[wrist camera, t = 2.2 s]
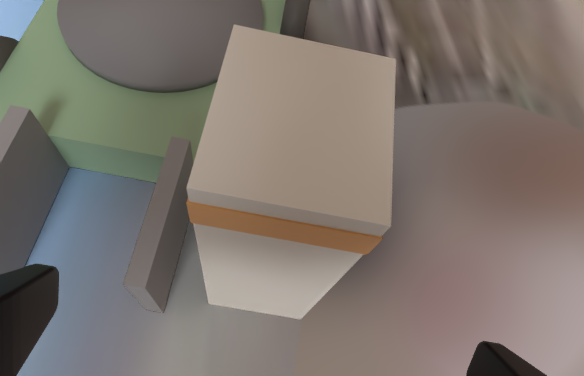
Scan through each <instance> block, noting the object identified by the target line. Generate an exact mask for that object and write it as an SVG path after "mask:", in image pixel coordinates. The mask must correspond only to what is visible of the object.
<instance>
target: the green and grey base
mask: <svg viewBox="0 0 584 376" xmlns="http://www.w3.org/2000/svg"><path fill="white" fill-rule="evenodd" d="M309 4H310V0H44V2H43V3H42V5H41V7H40V8H39V10H38V12H37V13H36V15H35V16H34V18H33V20H32V21H31V23H30V25H29V26H28V28H27V29H26V31H25V33H24V34H23V36H22V38H21V39H20V41H19V42H18V41H17V40H15V39H13V38H9V37H4V36H0V274H3V273H7V272H10V271H13V270H16V269H20V268H23V267H24V266H25V264H26V262H27V260H28V257H29V255H30V253H31V251H32V249H33V246H34V244H35V242H36V240H37V237H38V235H39V233H40V231H41V229H42V226H43V224H44V222H45V220H46V217H47V215H48V213H49V211H50V209H51V206H52V204H53V202H54V200H55V197H56V195H57V193H58V191H59V189H60V186H61V184H62V182H63V180H64V178H65V175H66V173H67V171H68V169H69V167H74V168H80V169H85V170H90V171H96V172H101V173H107V174H112V175H117V176H123V177H128V178H133V179H139V180H144V181H149V182H155V183H156V185H155V188H154V191H153V194H152V197H151V200H150V203H149V206H148V209H147V212H146V215H145V218H144V221H143V224H142V227H141V230H140V233H139V236H138V239H137V242H136V245H135V248H134V251H133V255H132V258H131V261H130V264H129V267H128V270H127V273H126V276H125V279H124V282H123V285H124V287H125V288H126V289H127V290H128V291H129V292H130V293H131V294H132V295H133V296H134V297H135V298H136V299H137V300H138V302H139V303H140V304H141V305H142V306H143V307H144V308H145V309H146V310H150V311H156V312H162V313H164V309H165V306H166V302H167V298H168V295H169V291H170V287H171V284H172V280H173V277H174V273H175V269H176V266H177V262H178V258H179V255H180V251H181V248H182V244H183V240H184V237H185V233H186V229H187V226H188V222H189V214H188V209H187V204H186V202H187V199H188V194H187V189H186V187H187V184H188V181H189V177H190V174H191V170H192V167H193V163H194V160H195V157H196V153H197V150H198V146H199V143H200V139H201V136H202V132H203V129H204V126H205V122H206V119H207V115H208V112H209V108H210V105H211V101H212V98H213V95H214V91H215V88H216V84H217V81H218V77H219V74H220V71H221V67H222V64H223V60H224V57H225V53H226V50H227V46H228V43H229V40H230V36H231V33H232V29H233V26H234V25H239V26H244V27H249V28H253V29H258V30H263V31H267V32H272V33H277V34H281V35H286V36H291V37H296V38H300V39H303V35H304V30H305V25H306V20H307V15H308V9H309Z"/></svg>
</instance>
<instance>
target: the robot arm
mask: <svg viewBox="0 0 584 376" xmlns="http://www.w3.org/2000/svg"><path fill="white" fill-rule="evenodd" d="M58 291H59V272H58V269H57V268H56V267H54V266H48V265H42V264H33V265H30V266H26V267H23V268H20V269H16V270H13V271H10V272H7V273H3V274H0V376H16V375H17V374H18V372H19V371H20V369H21V367H22V366H23V364H24V363H25V361H26V359H27V358H28V356H29V354H30V353H31V351H32V350H33V348H34V346H35V345H36V343H37V341H38V340H39V338H40V336H41V335H42V333H43V332H44V330H45V328H46V327H47V325H48V323H49V322H50V320H51V318H52V317H53V315H54V313H55V311H56V309H57V305H58ZM467 376H547V375H545V374H544V373H542V372H541V371H539V370H538V369H536V368H535V367H534V366H532V365H531V364H529V363H528V362H526V361H525V360H523V359H522V358H521V357H519V356H518V355H516V354H515V353H513V352H512V351H510V350H509V349H507V348H506V347H505V346H503V345H501V344H499V343H493V342H487V341H483V342H480V343H479V344H478V346H477V348H476V350H475V353H474V355H473V358H472V360H471V363H470V365H469V367H468V370H467Z"/></svg>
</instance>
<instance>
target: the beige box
mask: <svg viewBox="0 0 584 376" xmlns="http://www.w3.org/2000/svg"><path fill="white" fill-rule="evenodd" d="M395 75H396V59H394V58H390V57H385V56H380V55H375V54H371V53H366V52H361V51H357V50H352V49H347V48H343V47H338V46H333V45H328V44H324V43H319V42H314V41H310V40H305V39H300V38H296V37H291V36H286V35H281V34H277V33H272V32H267V31H263V30H258V29H253V28H249V27H244V26H239V25H234V26H233V29H232V33H231V36H230V40H229V43H228V46H227V50H226V53H225V57H224V60H223V64H222V67H221V71H220V74H219V77H218V81H217V84H216V88H215V91H214V95H213V98H212V101H211V105H210V108H209V112H208V115H207V119H206V122H205V126H204V129H203V132H202V136H201V139H200V143H199V146H198V150H197V153H196V157H195V160H194V163H193V167H192V170H191V174H190V177H189V181H188V184H187V187H186V189H187V194H188V199H187V202H186V204H187V209H188V214H189V219H190V223H193V225H194V230H195V235H196V241H197V246H198V251H199V256H200V261H201V267H202V272H203V277H204V282H205V287H206V293H207V298H208V303H209V304H212V305H218V306H224V307H230V308H236V309H242V310H248V311H254V312H260V313H265V314H271V315H277V316H283V317H289V318H295V319H302V318H303V317H304V316H305V314H306V313H307V312H308V311H309V310H310V309H311V308H312V307H313V306H314V305H315V304H316V303H317V302H318V301H319V300H320V299H321V298H322V297H323V296H324V295H325V294H326V293H327V291H329V290H330V289H331V287H333V286H334V285H335V283H336V282H337V281H338V280H339V279H340V278H341V277H342V276H343V275H344V274H345V273H346V272H347V271H348V270H349V269H350V268H351V267H352V266H353V265H354V264H355V263H356V262H357V261H358V260H359V259H360V258H361V257H362V256H363V255H364V254H365V255H367V254H368V253H369V252H370V251H371V250H372V249H373V248H374V247H375V246H376V245H377V244H378V243H379V242H380V241H381V240H382V239H383V234H384V233H385V232H386V231H387V230H388V229H389V228H390V227H391V210H392V209H391V208H392V175H393V142H394V109H395Z"/></svg>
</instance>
